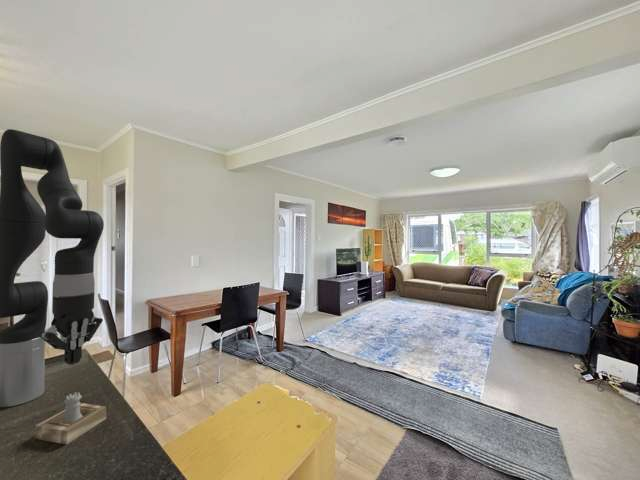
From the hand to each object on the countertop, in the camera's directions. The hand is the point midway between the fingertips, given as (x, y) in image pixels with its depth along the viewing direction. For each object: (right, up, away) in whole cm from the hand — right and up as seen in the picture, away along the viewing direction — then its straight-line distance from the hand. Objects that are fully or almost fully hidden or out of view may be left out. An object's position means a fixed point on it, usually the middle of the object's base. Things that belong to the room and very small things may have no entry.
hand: (72, 363), depth 65 cm
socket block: (0, -16, 0) cm, 16 cm away
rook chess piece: (0, -16, 0) cm, 16 cm away
